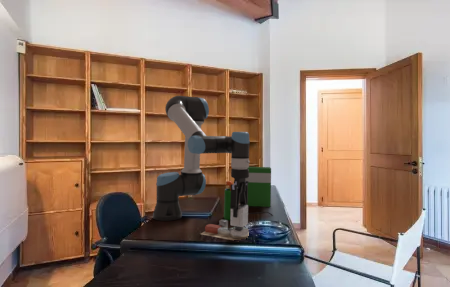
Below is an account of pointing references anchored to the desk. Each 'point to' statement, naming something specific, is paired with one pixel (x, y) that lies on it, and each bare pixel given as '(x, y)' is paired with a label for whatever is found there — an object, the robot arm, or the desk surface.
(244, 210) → the socket
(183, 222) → the desk surface
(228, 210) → the motor
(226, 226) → the socket
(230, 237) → the tool board
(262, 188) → the hardback book
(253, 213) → the glasses
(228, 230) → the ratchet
